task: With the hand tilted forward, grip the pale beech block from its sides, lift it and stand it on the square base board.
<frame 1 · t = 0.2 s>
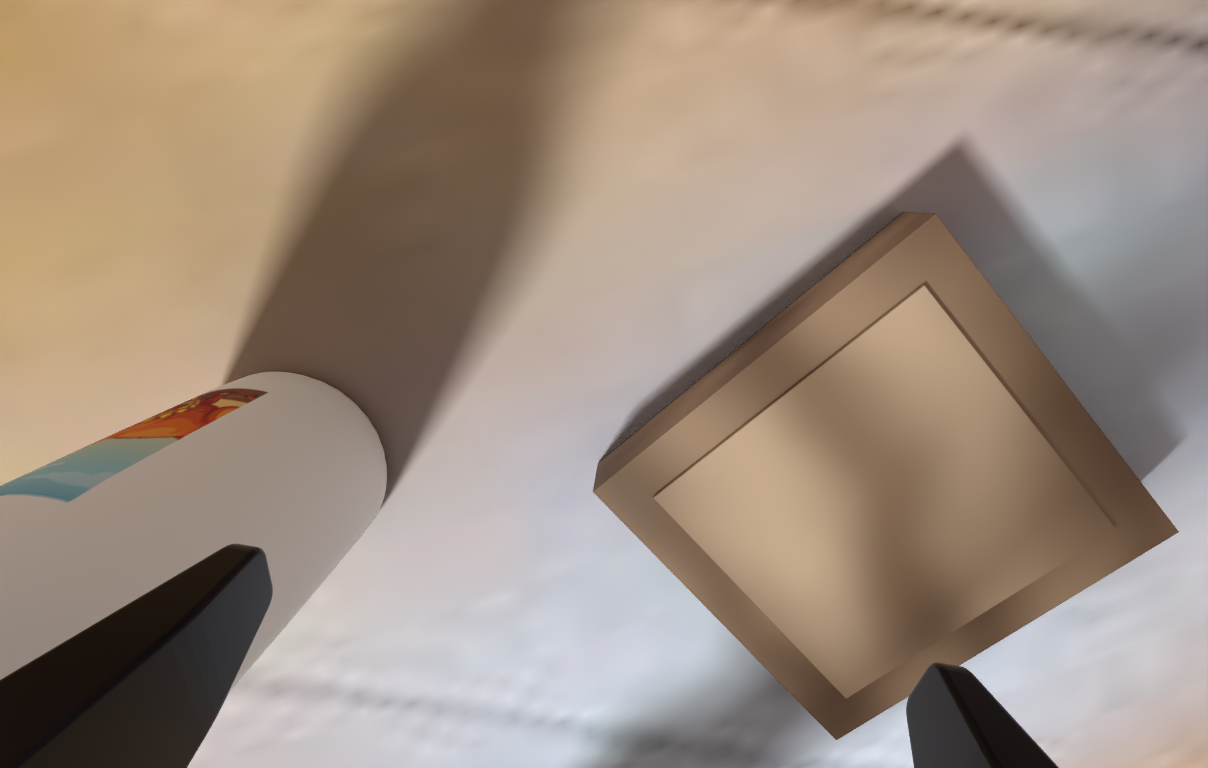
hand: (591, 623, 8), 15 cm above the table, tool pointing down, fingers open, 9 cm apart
base: (856, 480, 24), on the table
milk bottle: (301, 457, 26), on the table
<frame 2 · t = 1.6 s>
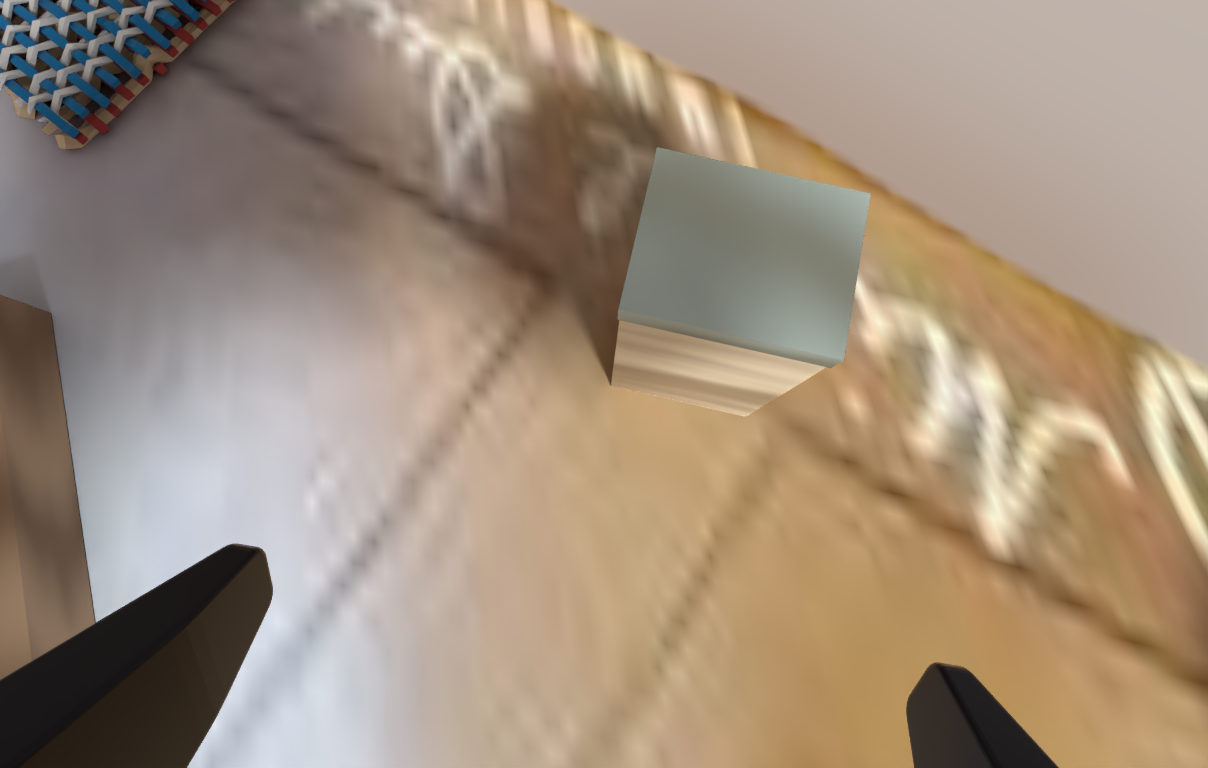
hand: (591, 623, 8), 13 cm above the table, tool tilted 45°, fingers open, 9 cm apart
woven mat: (97, 13, 26), on the table
beech block: (689, 348, 23), on the table
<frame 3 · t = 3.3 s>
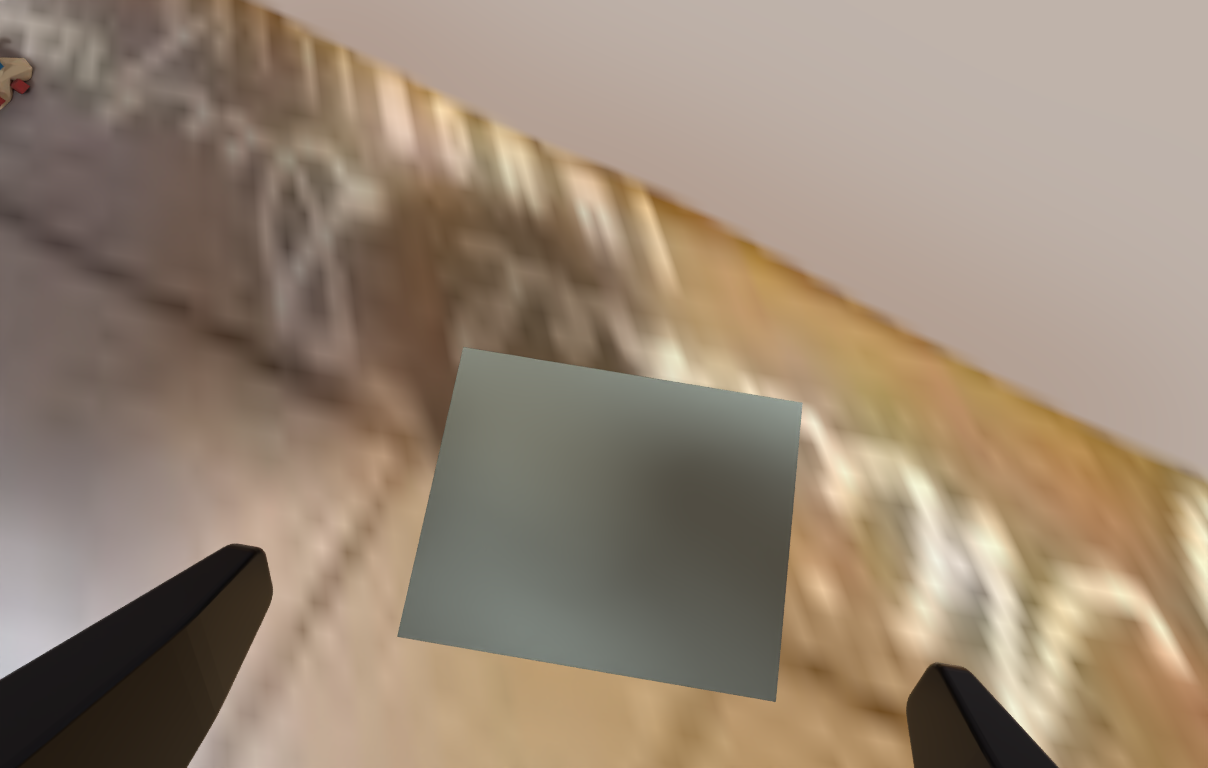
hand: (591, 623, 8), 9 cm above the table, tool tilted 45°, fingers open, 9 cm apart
beech block: (599, 526, 18), on the table
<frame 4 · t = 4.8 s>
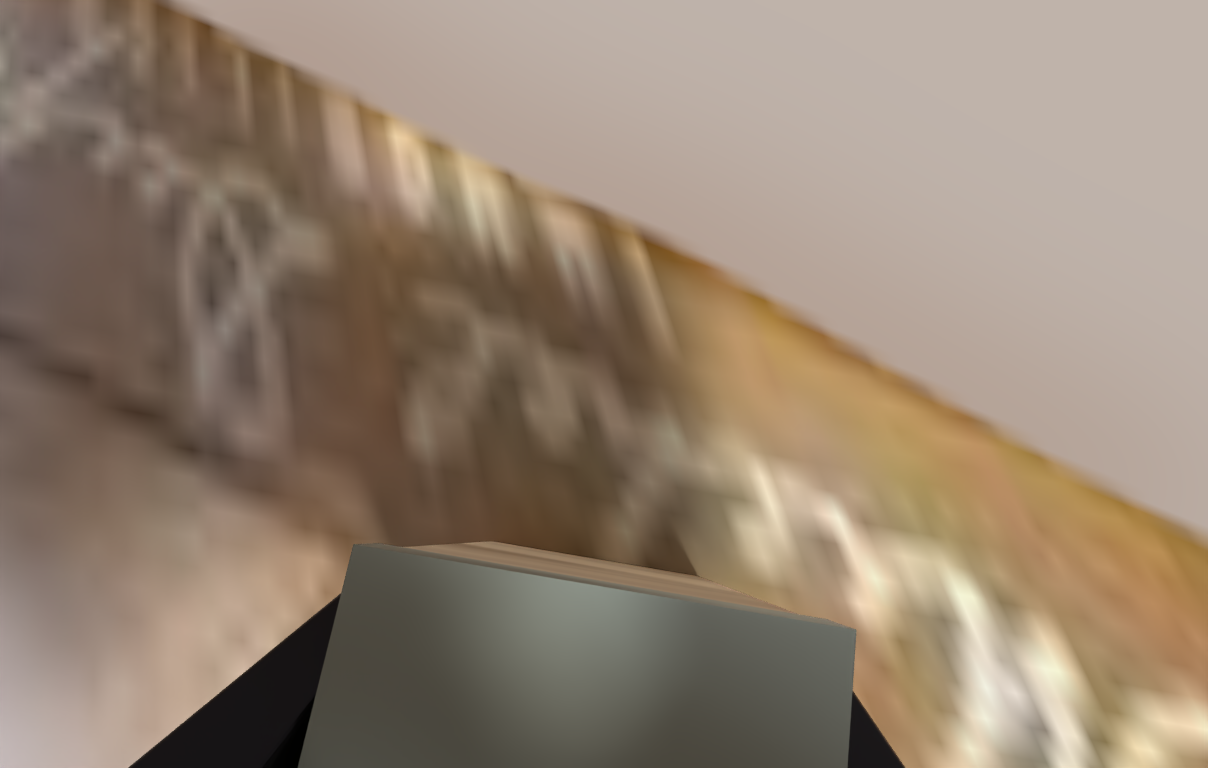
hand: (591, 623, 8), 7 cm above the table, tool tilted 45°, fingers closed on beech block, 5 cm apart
beech block: (580, 647, 15), on the table, touching gripper
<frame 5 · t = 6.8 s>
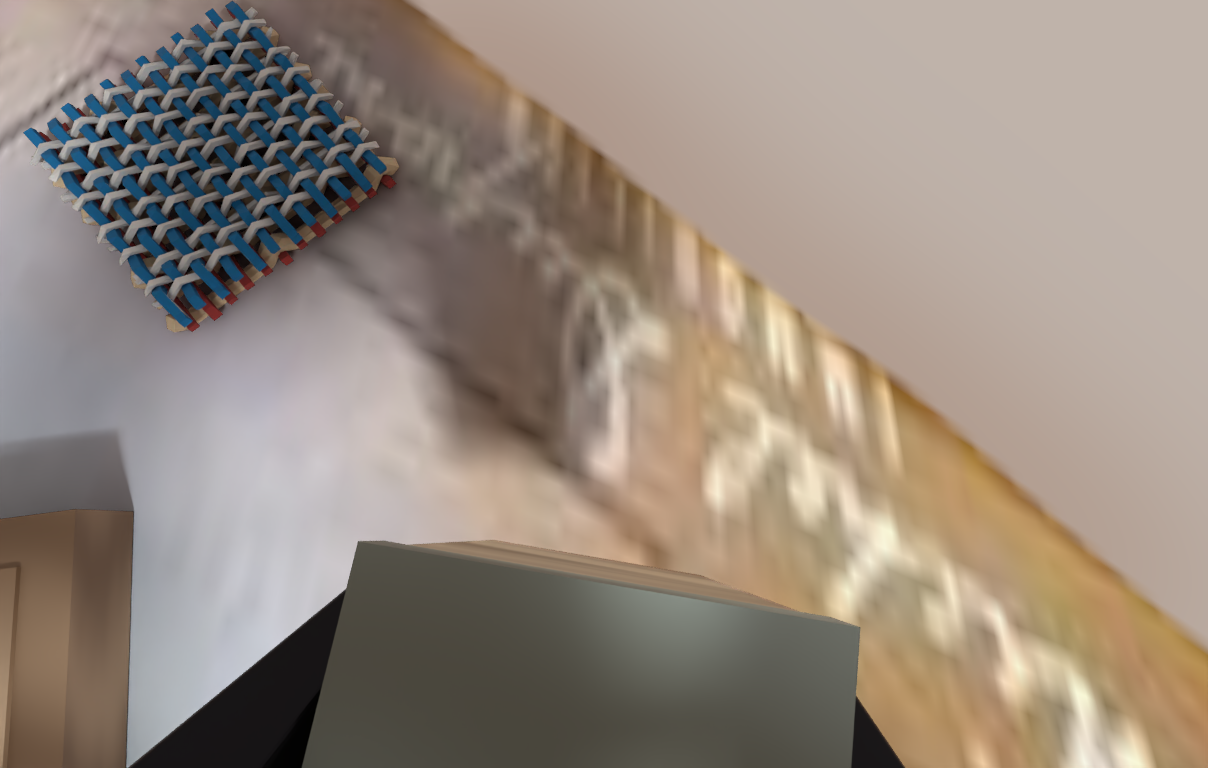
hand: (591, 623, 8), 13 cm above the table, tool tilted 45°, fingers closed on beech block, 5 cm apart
woven mat: (232, 176, 25), on the table
beech block: (582, 645, 15), point 7 cm above the table, touching gripper
when the fingers open (10 cm above the table, at t = 9.1 s): beech block drops 1 cm, resting on base.
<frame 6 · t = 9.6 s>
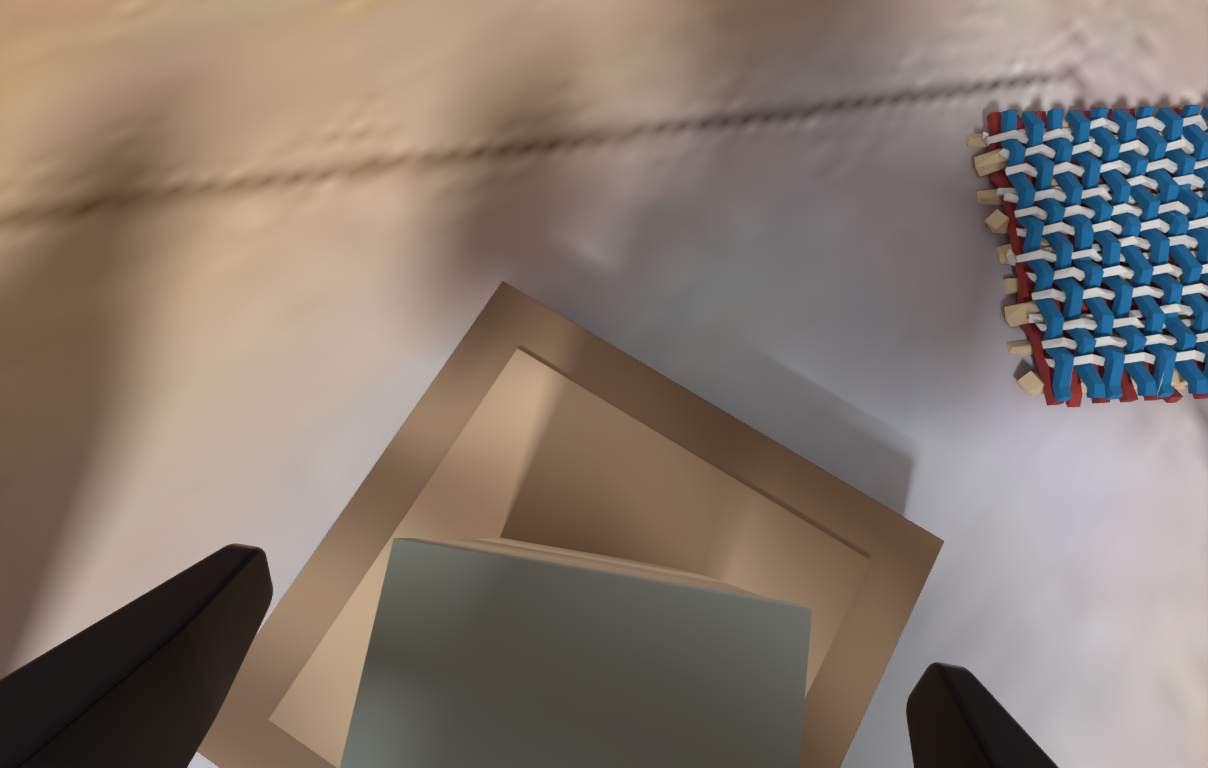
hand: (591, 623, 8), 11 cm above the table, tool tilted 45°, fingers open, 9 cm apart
woven mat: (1119, 261, 22), on the table
base: (582, 622, 18), on the table
beech block: (581, 634, 16), point 3 cm above the table, touching base
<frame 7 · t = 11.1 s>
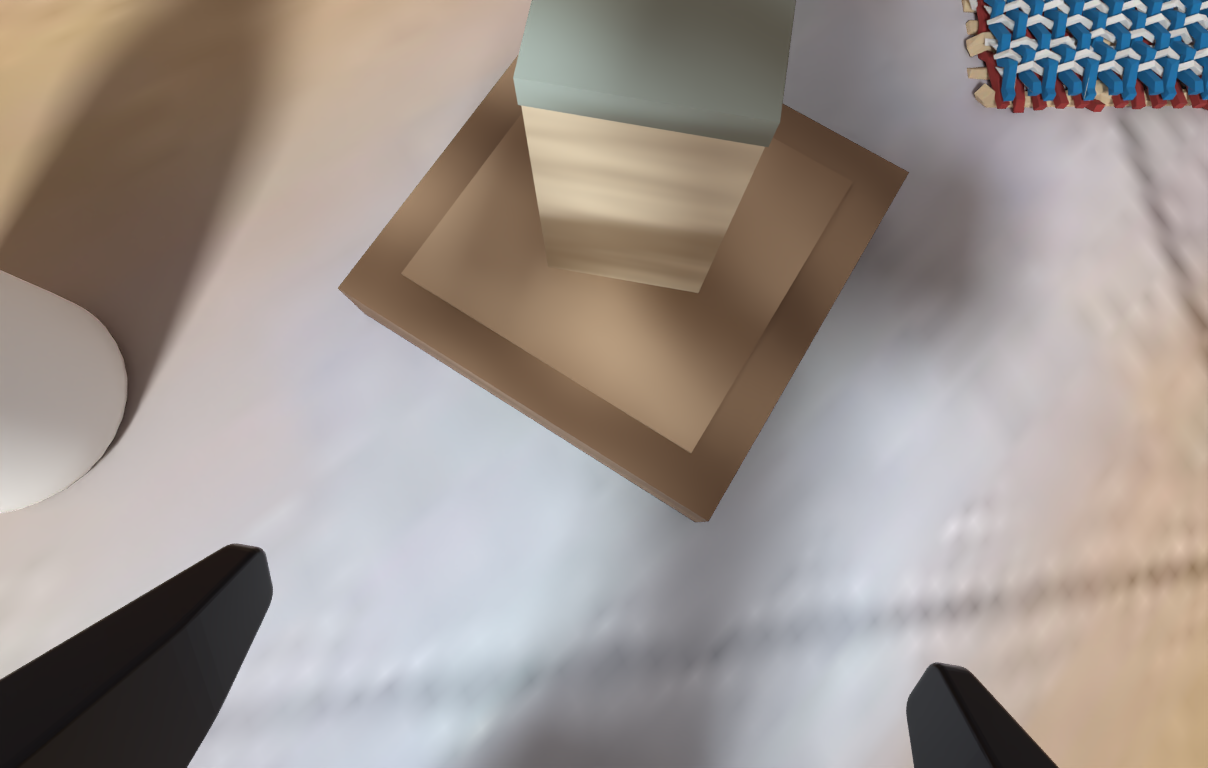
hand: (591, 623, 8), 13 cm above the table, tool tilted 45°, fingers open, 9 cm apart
woven mat: (1063, 20, 27), on the table
base: (628, 259, 24), on the table
milk bottle: (29, 404, 22), on the table
beech block: (633, 224, 21), point 3 cm above the table, touching base
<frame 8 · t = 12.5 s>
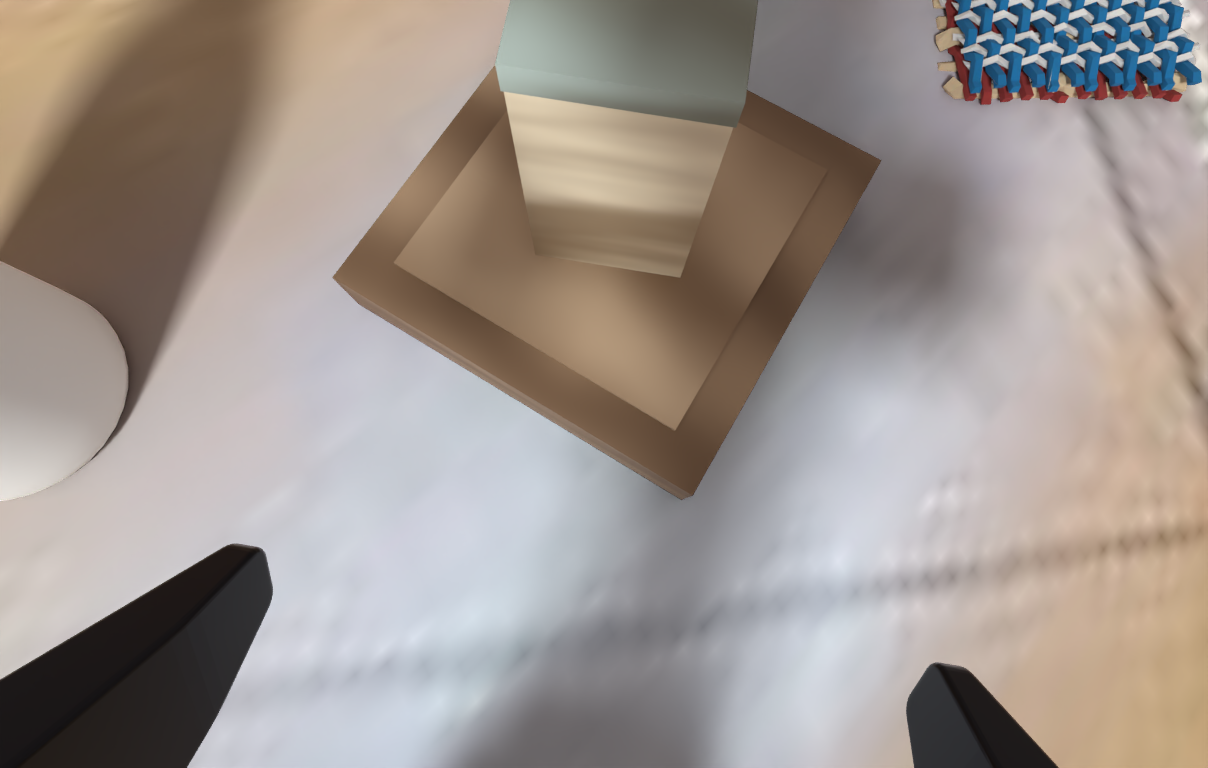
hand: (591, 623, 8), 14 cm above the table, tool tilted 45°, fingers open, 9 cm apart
woven mat: (1030, 15, 28), on the table
base: (613, 248, 24), on the table
milk bottle: (32, 396, 23), on the table
beech block: (616, 213, 22), point 3 cm above the table, touching base
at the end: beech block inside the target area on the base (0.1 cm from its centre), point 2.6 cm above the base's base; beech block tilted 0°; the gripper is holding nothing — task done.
